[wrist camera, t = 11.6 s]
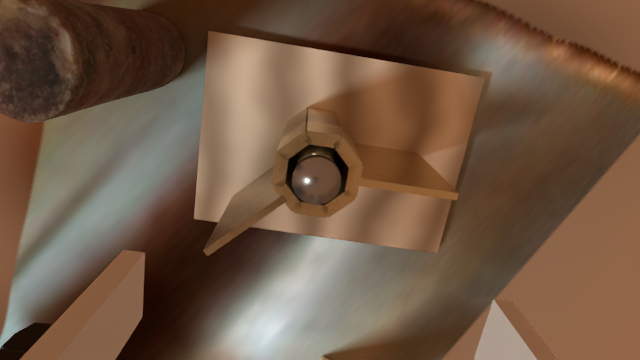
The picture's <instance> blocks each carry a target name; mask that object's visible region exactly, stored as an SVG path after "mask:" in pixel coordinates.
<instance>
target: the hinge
mask: <svg viewBox="0 0 640 360" xmlns="http://www.w3.org/2000/svg"><path fill="white" fill-rule="evenodd" d="M309 144H311V145H317V146H324V147H330V148H335V149H336V152H335V153H334V158H335V164H336V165H337V167H338V169H339V171H340V175H341V187H340V190H339V192H338V193H337V195H336V196H335V197H334V198H333V199H332V200H330V201H329V202H326V203H324V204H309V203H307V202H305V201H303V200H301V199H300V198H299V197H298V196H297V195H296V193H295V191H294V189H293V186H292V176H293V171H294V169H295V167H296V165H297V158H298V152H299V151H300V150H302V149H303V148H305V147H306V146H307V145H309ZM359 186H363V187H370V188H377V189H383V190H390V191H397V192H403V193H410V194H417V195H423V196H430V197H437V198H443V199H450V200H457V198H458V195H459V193H458V192H457V191H456V190H455V189H454V188H453V187H452V186H451V185H450V184H449V183H448V182H447V181H446V180H445V179H444V178H443V177H442V176H441V175H440V174H439V173H438V172H437V171H436V170H435V169H434V168H433V167H432V166H431V165H430V164H429V163H428V162H427V161H426V160H425V159H424V158H423V157H422V156H421V155H420V154H419V153H416V152H409V151H403V150H397V149H390V148H384V147H377V146H371V145H365V144H358V143H353V141H352V138H351V136H350V134H349V131H348V130H347V128H346V127H345V126H344V124H343V123H342V121H341V120H340V119H339V117H338V116H337V114H336V113H335V112H333V110H326V109H320V108H314V107H309V108H307V107H306V108H305V109H304V110H302V111H301V112H300V113H298V114H297V115H295V116H294V117H293V118H291V119H290V120H289V121H287V123H286V126H285V128H284V131H283V134H282V137H281V139H280V142H279V145H278V148H277V151H276V154H275V162H274V166H273V167H272V168H271V169H269V170H268V171H267V172H265V173H264V174H262V175H261V176H260V177H258V178H257V179H255V180H254V181H253V182H251V183H250V184H248V185H247V186H246V187H244V188H243V189H241V190H240V191H239V192H237V193H236V194H234V195H233V196H232V198H231V200H230V202H229V204H228V205H227V207H226V209H225V211H224V213H223V215H222V216H221V218H220V220H219V222H218V224H217V226H216V227H215V229H214V231H213V233H212V235H211V237H210V238H209V240H208V242H207V244H206V246H205V248H204V249H203V251H204V252H205V254H206V255H207V256H209V255H210V254H211V253H213V252H214V251H216V250H217V249H219V248H220V247H222V246H223V245H224V244H226V243H227V242H229V241H230V240H232V239H233V238H235V237H236V236H237V235H239V234H240V233H242V232H243V231H245V230H246V229H248V228H249V227H250V226H252V225H253V224H255V223H256V222H258V221H259V220H261V219H262V218H263V217H265V216H266V215H268V214H269V213H271V212H272V211H274V210H275V209H276V208H278V207H279V206H281V205H282V204H284V203H285V204H286V205H287V207H288V208H289V209H290V210H291V212H293V211H294V213H295V214H301V215H308V216H315V217H322V218H326V217H327V216H328V217H330V216H332V215H333V214H335V213H336V212H338V211H339V210H341V209H342V208H344V207H345V206H347V205H348V204H350V203H351V202H353V201H354V200H355V198H357V194H358V189H359Z"/></svg>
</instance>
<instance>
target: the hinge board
mask: <svg viewBox="0 0 640 360" xmlns="http://www.w3.org/2000/svg"><path fill="white" fill-rule="evenodd" d="M484 82H485V78H483V77H477V76H471V75H465V74H460V73H454V72H448V71H442V70H436V69H430V68H424V67H419V66H413V65H407V64H401V63H395V62H389V61H383V60H377V59H372V58H366V57H360V56H354V55H348V54H342V53H336V52H330V51H325V50H319V49H313V48H307V47H301V46H295V45H289V44H284V43H278V42H272V41H266V40H260V39H254V38H248V37H242V36H237V35H231V34H225V33H219V32H213V31H208V43H207V56H206V69H205V82H204V95H203V108H202V121H201V134H200V147H199V160H198V173H197V186H196V199H195V212H194V219H198V220H205V221H213V222H219V220H220V218H221V216H222V215H223V213H224V211H225V209H226V207H227V205H228V204H229V202H230V200H231V198H232V196H233V195H234V194H236V193H237V192H239V191H240V190H241V189H243V188H244V187H246V186H247V185H248V184H250V183H251V182H253V181H254V180H255V179H257V178H258V177H260V176H261V175H262V174H264V173H265V172H267V171H268V170H269V169H271V168H272V167H273V166H274V162H275V154H276V151H277V148H278V145H279V142H280V139H281V137H282V134H283V131H284V128H285V126H286V123H287V121H289V120H290V119H291V118H293V117H294V116H295V115H297V114H298V113H300V112H301V111H302V110H304V109H305V108H306V107H307V108H309V107H314V108H320V109H326V110H333V112H335V113H336V114H337V116H338V117H339V119H340V120H341V121H342V123H343V124H344V126H345V127H346V128H347V130H348V131H349V134H350V136H351V138H352V141H353V143H358V144H365V145H371V146H377V147H384V148H390V149H397V150H403V151H409V152H416V153H419V154H420V155H421V156H422V157H423V158H424V159H425V160H426V161H427V162H428V163H429V164H430V165H431V166H432V167H433V168H434V169H435V170H436V171H437V172H438V173H439V174H440V175H441V176H442V177H443V178H444V179H445V180H446V181H447V182H448V183H449V184H450V185H451V186H452V187H453V188H454V189H455V187H456V184H457V180H458V176H459V173H460V169H461V165H462V162H463V158H464V155H465V151H466V147H467V144H468V140H469V136H470V133H471V129H472V125H473V122H474V118H475V115H476V111H477V107H478V104H479V100H480V96H481V93H482V89H483V85H484ZM335 152H336V149H335V148H333V153H335ZM451 202H452V200H450V199H443V198H437V197H430V196H423V195H417V194H410V193H403V192H397V191H390V190H383V189H377V188H370V187H363V186H359V189H358V194H357V198H355V200H354V201H353V202H351V203H350V204H348V205H347V206H345V207H344V208H342V209H341V210H339V211H338V212H336V213H335V214H333V215H332V216H330V217H328V216H327V217H326V218H322V217H315V216H308V215H301V214H295V213H294V211H293V212H291V210H290V209H289V208H288V207H287V205H286V204H285V203H284V204H282V205H281V206H279V207H278V208H276V209H275V210H274V211H272V212H271V213H269V214H268V215H266V216H265V217H263V218H262V219H261V220H259V221H258V222H256V223H255V224H253V225H252V226H250V227H255V228H262V229H269V230H276V231H283V232H290V233H298V234H305V235H312V236H319V237H326V238H333V239H340V240H347V241H354V242H361V243H368V244H375V245H383V246H390V247H397V248H404V249H411V250H418V251H425V252H432V253H438V249H439V245H440V242H441V238H442V235H443V231H444V227H445V224H446V220H447V216H448V213H449V209H450V205H451Z"/></svg>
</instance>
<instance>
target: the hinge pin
mask: <svg viewBox="0 0 640 360" xmlns="http://www.w3.org/2000/svg"><path fill="white" fill-rule="evenodd" d="M292 186H293V189H294V191H295V193H296V195H297V196H298V197H299V198H300V199H301V200H303V201H305V202H307V203H309V204H324V203H326V202H329V201H330V200H332V199H333V198H334V197H335V196H336V195H337V193H338V192H339V190H340V187H341V175H340V171H339V169H338V167H337V165H336V164H335V158H334V153H333V148H330V147H324V146H317V145H311V144H309V145H307V146H306V147H305V148H303V149H302V150H300V151H299V152H298V158H297V165H296V167H295V169H294V171H293V176H292Z"/></svg>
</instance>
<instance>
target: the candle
mask: <svg viewBox="0 0 640 360" xmlns="http://www.w3.org/2000/svg"><path fill="white" fill-rule="evenodd" d="M185 58H186V51H185V45H184V42H183V39H182V37H181V36H180V34H179V32H178V30H177V29H176V28H175V26H174V25H173V24H172V23H171V22H169V21H168V20H166V19H165V18H163V17H161V16H159V15H157V14H154V13H151V12H147V11H141V10H134V9H125V8H118V7H110V6H103V5H98V4H90V3H83V2H78V1H71V0H0V113H1V114H3V115H6V116H8V117H10V118H13V119H16V120H19V121H23V122H29V123H30V122H41V121H45V120H49V119H52V118H56V117H59V116H63V115H66V114H70V113H72V112H76V111H79V110H82V109H86V108H90V107H93V106H96V105H99V104H102V103H107V102H110V101H113V100H117V99H120V98H124V97H128V96H132V95H136V94H140V93H143V92H147V91H150V90H154V89H157V88H160V87H163V86H165V85H166V84H168V83H170V82H171V81H172V80H174V79H175V77H176V76H177V75H178V74H179V72H180V70H181V68H182V66H183V64H184V62H185Z"/></svg>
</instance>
